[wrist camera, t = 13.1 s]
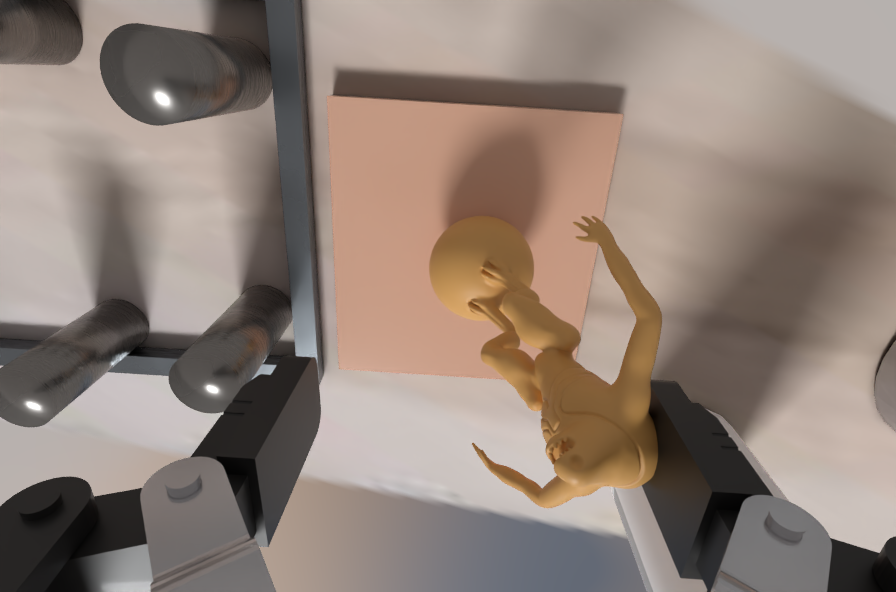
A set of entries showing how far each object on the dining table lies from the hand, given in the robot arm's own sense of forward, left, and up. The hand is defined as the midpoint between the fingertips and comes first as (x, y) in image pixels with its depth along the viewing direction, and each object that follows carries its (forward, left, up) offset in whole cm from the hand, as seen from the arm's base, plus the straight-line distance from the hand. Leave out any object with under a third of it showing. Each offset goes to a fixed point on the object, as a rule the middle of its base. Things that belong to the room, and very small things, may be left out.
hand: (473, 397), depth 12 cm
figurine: (-1, 0, -10) cm, 10 cm away
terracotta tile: (0, 0, -10) cm, 10 cm away
